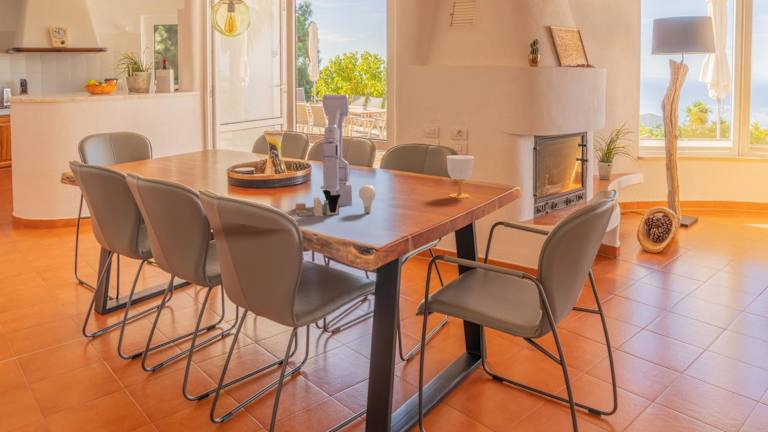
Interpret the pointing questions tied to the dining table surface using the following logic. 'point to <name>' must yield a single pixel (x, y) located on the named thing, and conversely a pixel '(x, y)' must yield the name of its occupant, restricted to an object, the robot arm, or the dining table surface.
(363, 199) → the lightbulb
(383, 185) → the dining table surface
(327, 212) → the blue-grey cube
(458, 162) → the cup
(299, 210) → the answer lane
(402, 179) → the dining table surface
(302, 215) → the pad
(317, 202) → the tan rectangular block
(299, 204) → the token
